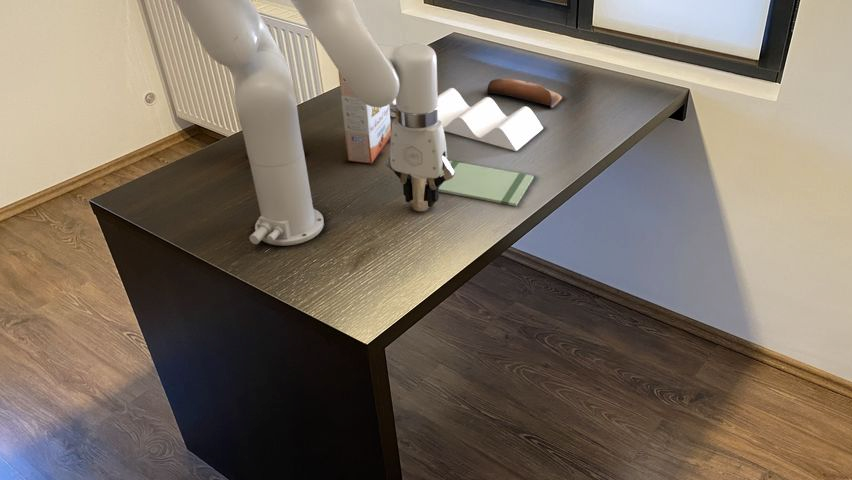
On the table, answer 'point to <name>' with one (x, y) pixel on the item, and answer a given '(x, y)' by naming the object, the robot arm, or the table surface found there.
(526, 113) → the white wavy rack
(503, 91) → the sunglasses case
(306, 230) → the robot arm
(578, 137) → the table surface
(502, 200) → the towel
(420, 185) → the milkshake
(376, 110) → the cracker box
